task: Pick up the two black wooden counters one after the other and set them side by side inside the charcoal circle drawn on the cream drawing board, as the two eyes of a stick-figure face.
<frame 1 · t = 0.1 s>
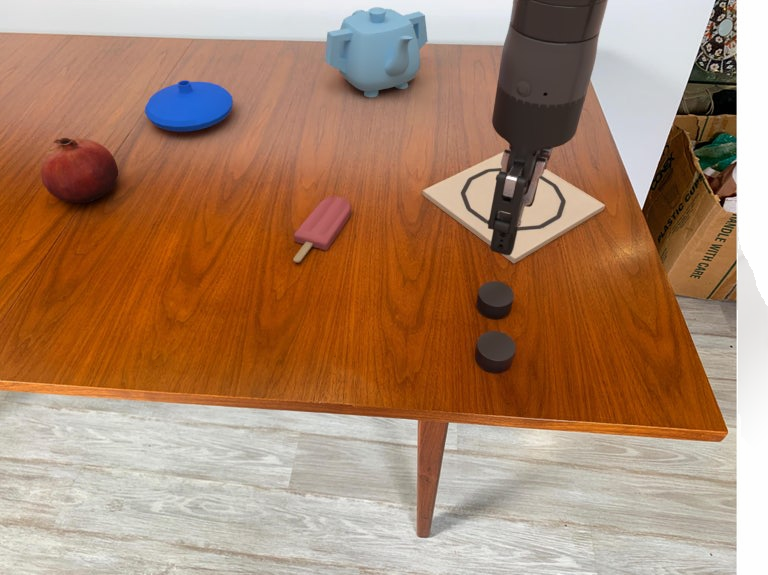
hand: (512, 226, 61), 17 cm above the table, tool pointing down, fingers open, 8 cm apart
dot left: (493, 358, 70), on the table
teapot: (381, 86, 118), on the table
fruit: (90, 196, 92), on the table
popsicle: (320, 234, 86), on the table
board: (511, 202, 91), on the table
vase: (193, 119, 109), on the table
dot right: (493, 306, 76), on the table
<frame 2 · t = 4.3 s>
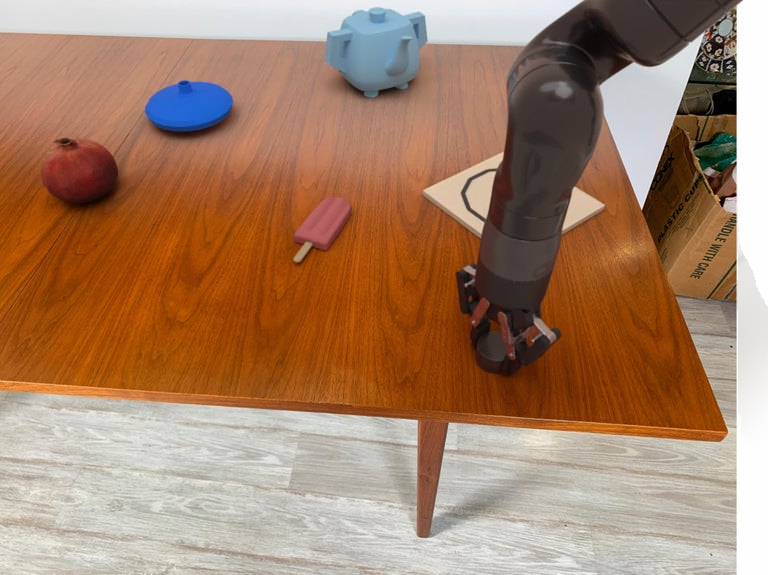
hand: (493, 356, 70), 0 cm above the table, tool pointing down, fingers closed on dot left, 4 cm apart
dot left: (493, 358, 70), on the table, touching gripper
everything else where it was.
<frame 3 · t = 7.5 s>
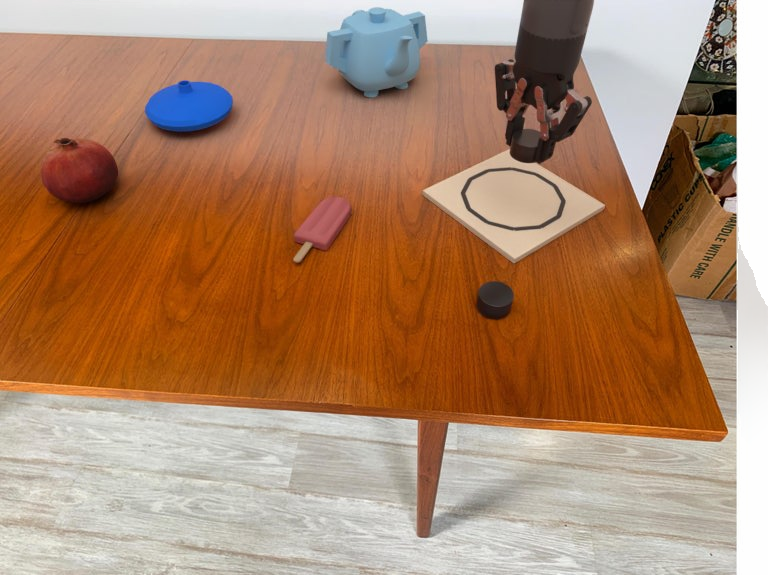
hand: (526, 151, 78), 13 cm above the table, tool pointing down, fingers closed on dot left, 4 cm apart
dot left: (526, 153, 78), point 13 cm above the table, touching gripper
everything else where it was.
when the fingers open (1 cm above the table, at t = 10.7 s): dot left stays where it is, resting on board.
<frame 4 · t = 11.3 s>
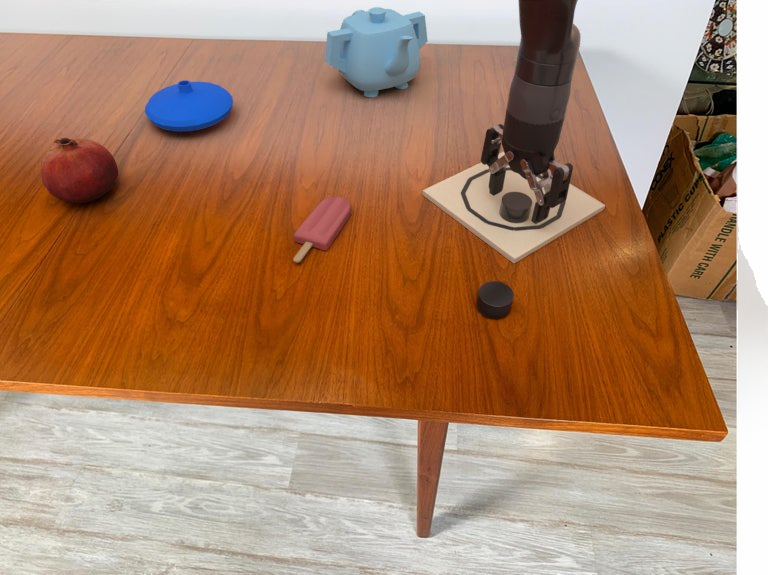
hand: (516, 206, 87), 2 cm above the table, tool pointing down, fingers open, 8 cm apart
dot left: (514, 213, 88), point 1 cm above the table, touching board
everything else where it was.
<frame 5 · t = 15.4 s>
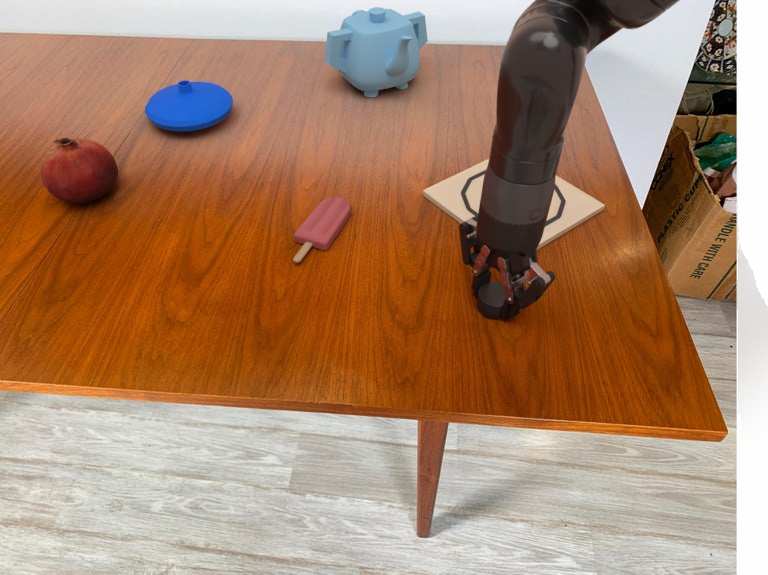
hand: (493, 304, 76), 0 cm above the table, tool pointing down, fingers closed on dot right, 4 cm apart
dot right: (493, 306, 76), on the table, touching gripper
everything else where it was.
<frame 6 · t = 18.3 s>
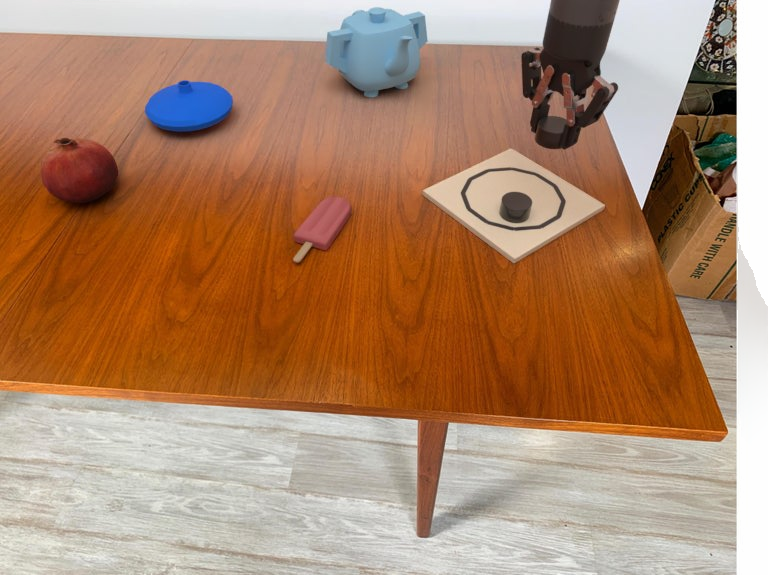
hand: (551, 138, 80), 13 cm above the table, tool pointing down, fingers closed on dot right, 4 cm apart
dot right: (551, 140, 80), point 13 cm above the table, touching gripper
everything else where it was.
when the fingers open (1 cm above the table, at t = 21.6 s): dot right stays where it is, resting on board.
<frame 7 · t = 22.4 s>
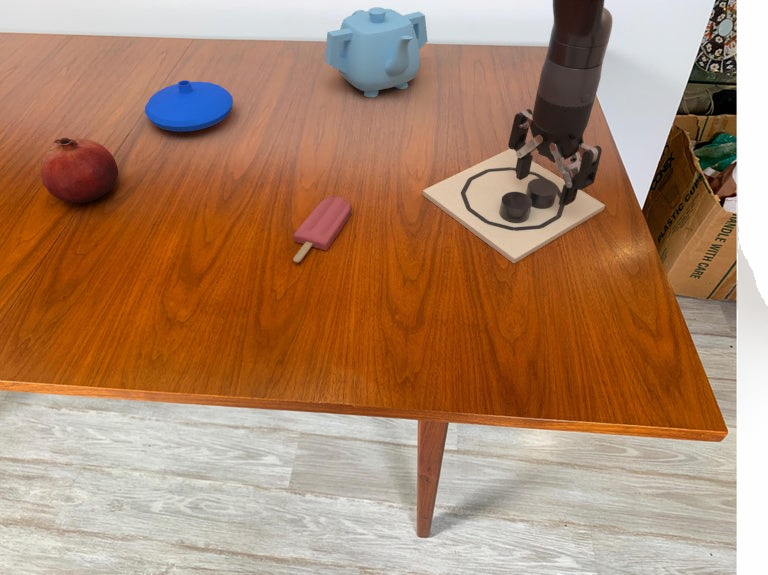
hand: (542, 190, 88), 3 cm above the table, tool pointing down, fingers open, 8 cm apart
dot right: (539, 200, 90), point 1 cm above the table, touching board
everything else where it was.
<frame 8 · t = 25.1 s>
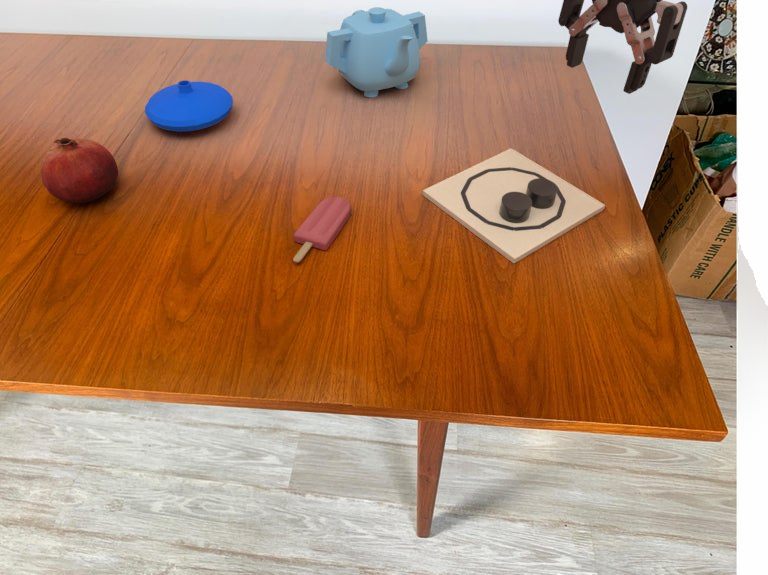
hand: (601, 77, 71), 23 cm above the table, tool pointing down, fingers open, 8 cm apart
nothing on the table moved.
at the end: dot left 0.4 cm from the target spot on the board, point 1.0 cm above the board's base; dot right 0.4 cm from the target spot on the board, point 1.0 cm above the board's base; dot left tilted 0° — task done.
